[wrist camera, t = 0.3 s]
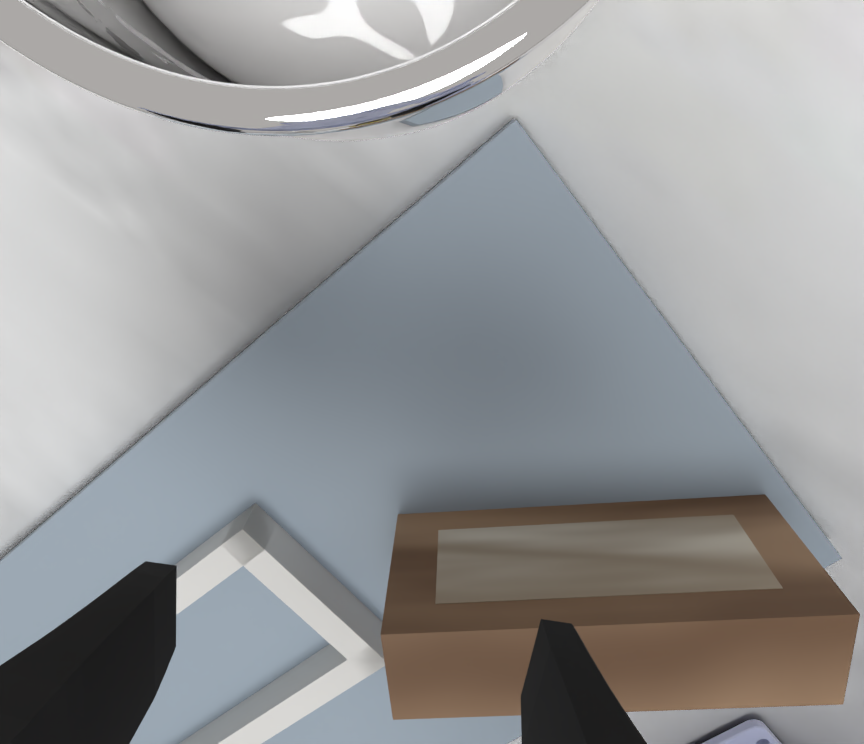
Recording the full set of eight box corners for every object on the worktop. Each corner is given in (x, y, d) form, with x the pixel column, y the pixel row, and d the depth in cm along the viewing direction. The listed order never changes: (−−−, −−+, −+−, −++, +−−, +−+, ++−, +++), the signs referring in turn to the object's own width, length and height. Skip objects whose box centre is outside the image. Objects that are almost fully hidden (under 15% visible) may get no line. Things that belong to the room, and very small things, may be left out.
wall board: (826, 540, 23) (867, 588, 21) (235, 873, 31) (218, 935, 29) (513, 118, 19) (521, 121, 16) (-91, 637, 27) (-143, 688, 24)
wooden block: (756, 569, 23) (843, 704, 18) (406, 586, 24) (392, 719, 19) (765, 493, 22) (860, 613, 17) (397, 513, 22) (380, 634, 17)
